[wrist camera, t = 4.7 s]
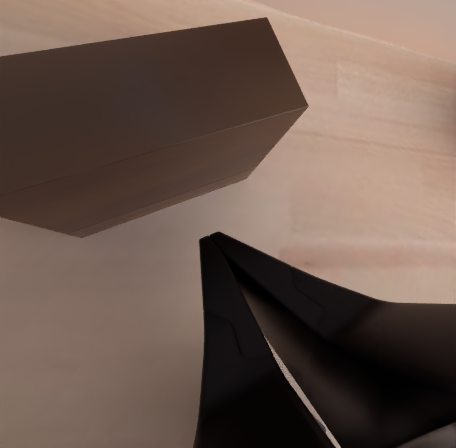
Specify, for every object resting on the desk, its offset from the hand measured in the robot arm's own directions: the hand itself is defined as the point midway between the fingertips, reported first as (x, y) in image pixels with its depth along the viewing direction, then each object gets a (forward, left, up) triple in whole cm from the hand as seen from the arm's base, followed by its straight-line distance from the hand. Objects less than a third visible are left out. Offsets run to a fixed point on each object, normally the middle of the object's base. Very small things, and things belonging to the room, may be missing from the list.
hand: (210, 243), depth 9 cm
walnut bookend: (+9, -5, -10) cm, 14 cm away
